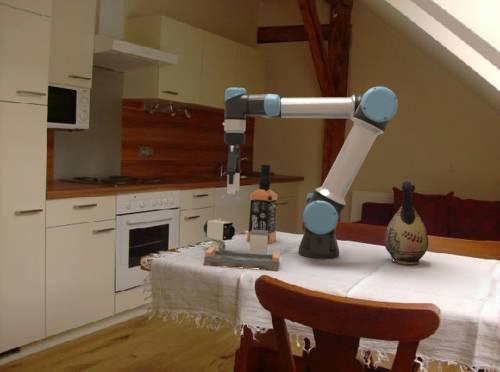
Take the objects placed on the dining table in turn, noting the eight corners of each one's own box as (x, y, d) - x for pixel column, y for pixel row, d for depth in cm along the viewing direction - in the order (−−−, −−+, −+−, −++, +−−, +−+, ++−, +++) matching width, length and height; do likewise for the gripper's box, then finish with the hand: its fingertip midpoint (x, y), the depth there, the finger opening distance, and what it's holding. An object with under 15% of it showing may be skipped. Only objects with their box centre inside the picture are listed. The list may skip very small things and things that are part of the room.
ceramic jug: (384, 255, 200) (390, 178, 198) (426, 260, 195) (433, 181, 193) (380, 264, 184) (386, 180, 182) (426, 270, 179) (433, 183, 177)
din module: (266, 255, 190) (268, 230, 189) (265, 257, 185) (267, 232, 184) (250, 253, 190) (251, 229, 190) (249, 256, 186) (250, 231, 185)
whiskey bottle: (268, 244, 210) (273, 165, 208) (245, 241, 214) (250, 163, 211) (276, 240, 220) (281, 165, 217) (254, 238, 223) (258, 163, 221)
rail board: (279, 262, 178) (279, 251, 178) (277, 271, 166) (278, 258, 166) (210, 257, 180) (210, 246, 180) (203, 265, 168) (204, 253, 168)
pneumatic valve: (226, 254, 187) (227, 221, 186) (202, 248, 194) (203, 217, 193) (235, 252, 192) (237, 219, 191) (211, 247, 199) (213, 215, 198)
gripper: (228, 133, 197) (227, 189, 198) (219, 130, 172) (217, 194, 173) (248, 133, 196) (247, 189, 198) (241, 131, 171) (240, 195, 173)
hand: (233, 192), depth 185 cm, fingers open, 13 cm apart
